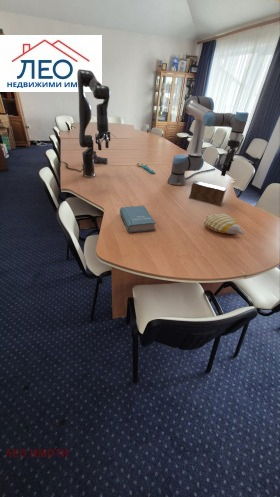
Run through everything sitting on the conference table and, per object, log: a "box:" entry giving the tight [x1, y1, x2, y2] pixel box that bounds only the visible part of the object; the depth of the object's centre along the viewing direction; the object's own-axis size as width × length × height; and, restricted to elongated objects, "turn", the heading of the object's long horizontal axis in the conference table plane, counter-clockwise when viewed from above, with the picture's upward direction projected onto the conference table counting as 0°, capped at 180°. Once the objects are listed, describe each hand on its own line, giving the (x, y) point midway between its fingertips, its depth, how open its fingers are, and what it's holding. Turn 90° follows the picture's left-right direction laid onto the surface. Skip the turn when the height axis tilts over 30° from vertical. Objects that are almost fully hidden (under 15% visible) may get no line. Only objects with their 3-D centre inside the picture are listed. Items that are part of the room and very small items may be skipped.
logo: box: [137, 162, 156, 175], centre depth 227 cm, size 34×10×1 cm, turn 16°
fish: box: [203, 213, 245, 235], centre depth 133 cm, size 25×8×20 cm
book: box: [119, 205, 156, 233], centre depth 136 cm, size 23×16×5 cm
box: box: [188, 180, 227, 207], centre depth 167 cm, size 24×6×12 cm, turn 60°
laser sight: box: [93, 150, 108, 165], centre depth 230 cm, size 10×22×10 cm, turn 78°
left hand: (103, 149), depth 155 cm, fingers open, 8 cm apart
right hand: (225, 173), depth 154 cm, fingers open, 13 cm apart
